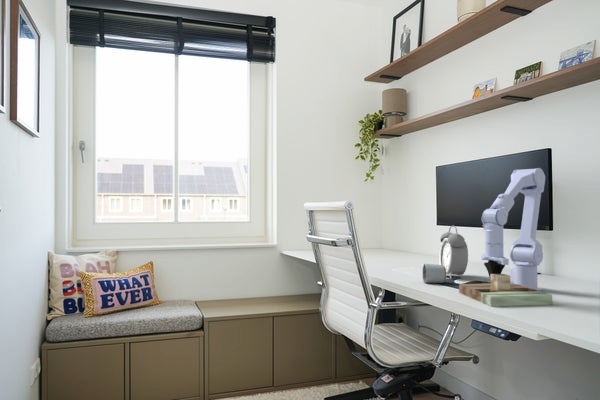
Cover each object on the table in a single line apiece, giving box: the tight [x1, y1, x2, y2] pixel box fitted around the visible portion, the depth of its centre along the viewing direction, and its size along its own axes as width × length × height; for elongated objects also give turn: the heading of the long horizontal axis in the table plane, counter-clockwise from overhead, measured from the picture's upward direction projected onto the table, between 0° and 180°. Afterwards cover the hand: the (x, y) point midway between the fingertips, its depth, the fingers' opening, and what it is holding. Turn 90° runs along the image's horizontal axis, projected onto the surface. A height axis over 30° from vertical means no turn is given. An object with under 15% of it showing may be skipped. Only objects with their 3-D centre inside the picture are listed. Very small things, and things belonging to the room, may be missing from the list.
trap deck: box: [458, 282, 553, 307], centre depth 154 cm, size 22×20×3 cm
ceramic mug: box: [422, 263, 447, 284], centre depth 186 cm, size 11×8×8 cm
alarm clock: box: [438, 225, 469, 280], centre depth 199 cm, size 16×9×22 cm, turn 0°
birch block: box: [489, 273, 511, 290], centre depth 155 cm, size 4×4×4 cm
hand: (494, 283), depth 158 cm, fingers closed
